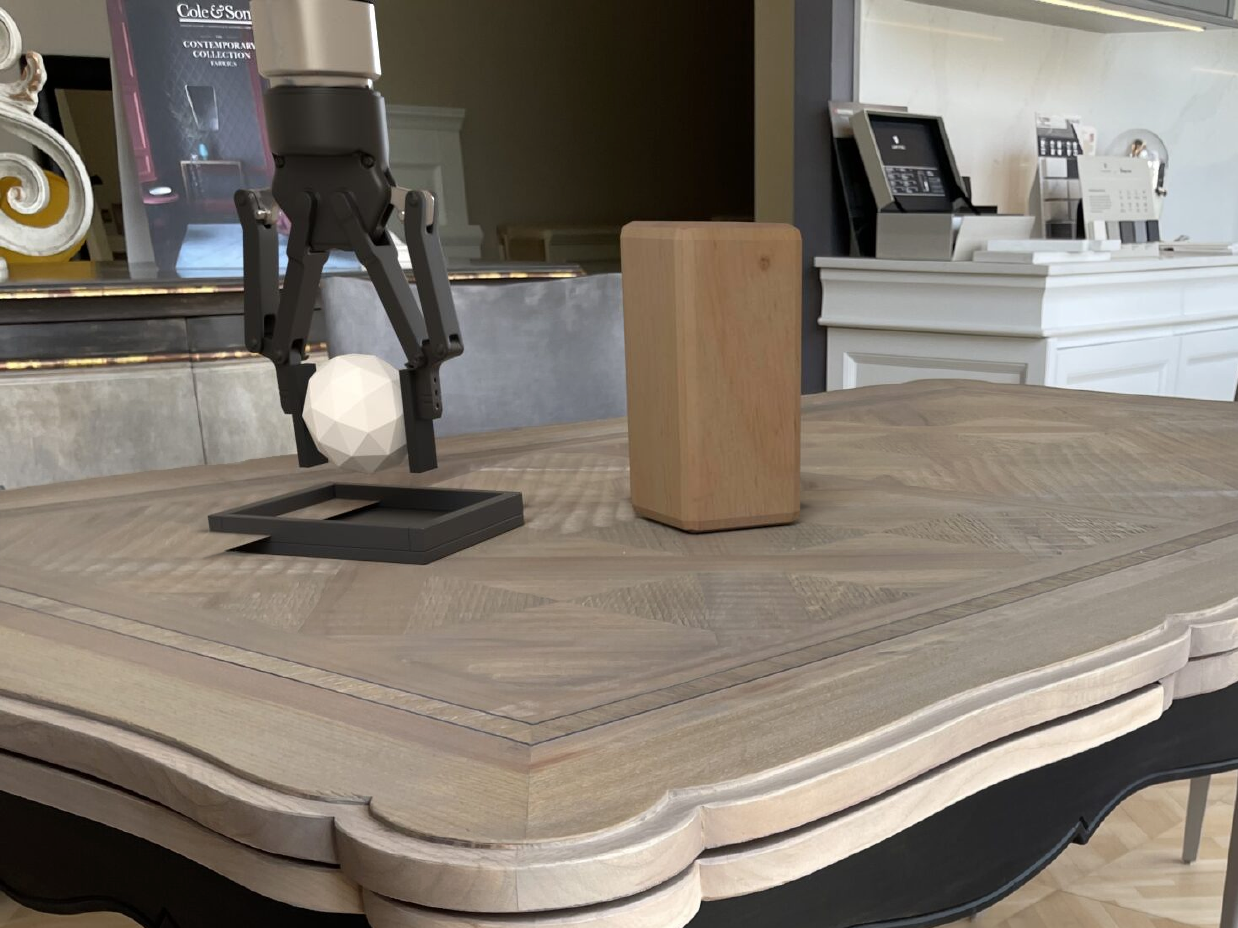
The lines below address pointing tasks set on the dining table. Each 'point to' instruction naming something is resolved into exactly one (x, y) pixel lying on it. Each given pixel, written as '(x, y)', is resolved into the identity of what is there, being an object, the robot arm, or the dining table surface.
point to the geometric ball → (357, 413)
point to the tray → (375, 522)
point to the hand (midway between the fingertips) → (368, 467)
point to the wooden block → (713, 372)
